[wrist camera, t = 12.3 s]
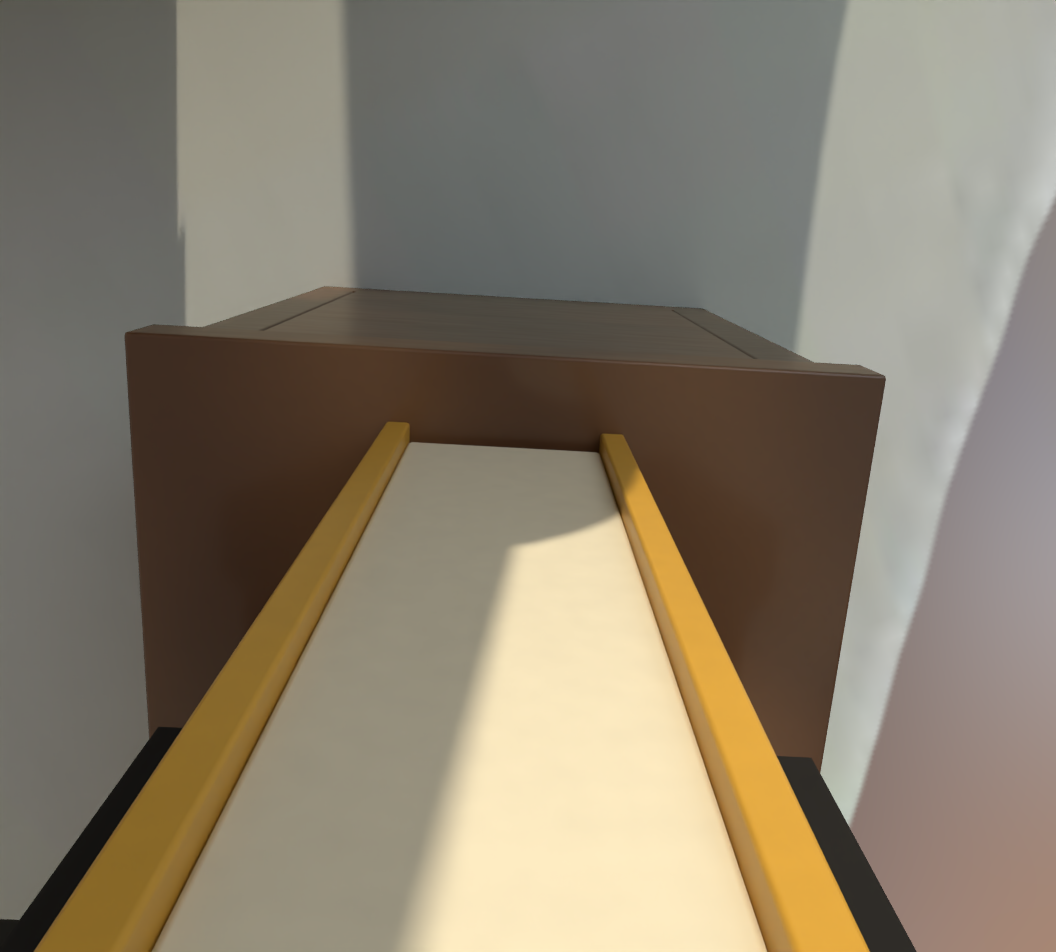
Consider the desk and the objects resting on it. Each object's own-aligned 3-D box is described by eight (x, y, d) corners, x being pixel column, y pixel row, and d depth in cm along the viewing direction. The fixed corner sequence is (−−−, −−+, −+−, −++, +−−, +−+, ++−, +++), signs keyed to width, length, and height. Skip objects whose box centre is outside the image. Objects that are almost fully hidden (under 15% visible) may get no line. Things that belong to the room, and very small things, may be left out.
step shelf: (316, 1046, 36) (196, 1532, 23) (312, 278, 28) (122, 331, 15) (629, 1058, 37) (692, 1545, 23) (714, 302, 29) (887, 376, 15)
